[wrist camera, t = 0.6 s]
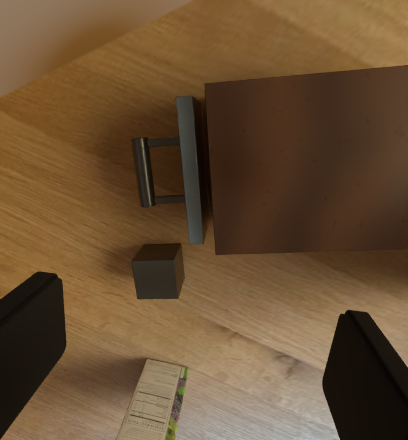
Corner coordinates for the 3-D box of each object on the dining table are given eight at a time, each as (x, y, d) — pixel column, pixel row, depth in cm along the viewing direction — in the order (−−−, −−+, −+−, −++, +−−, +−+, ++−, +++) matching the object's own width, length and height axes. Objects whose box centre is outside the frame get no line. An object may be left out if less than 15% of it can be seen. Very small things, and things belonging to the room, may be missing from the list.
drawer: (155, 220, 32) (134, 246, 25) (141, 107, 29) (112, 102, 22) (331, 212, 30) (360, 239, 23) (337, 91, 27) (374, 79, 20)
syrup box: (181, 399, 41) (155, 539, 27) (139, 389, 41) (92, 523, 27) (189, 366, 39) (165, 498, 25) (145, 356, 39) (97, 482, 25)
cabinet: (220, 220, 33) (215, 255, 24) (212, 95, 29) (204, 83, 20) (361, 214, 31) (410, 249, 22) (372, 81, 27) (437, 62, 19)
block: (143, 244, 34) (131, 261, 30) (181, 243, 34) (174, 260, 30) (148, 278, 36) (137, 299, 31) (184, 278, 35) (178, 298, 31)
